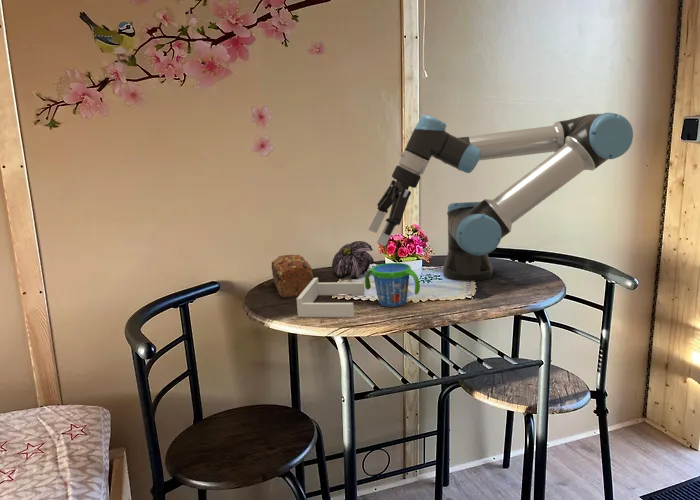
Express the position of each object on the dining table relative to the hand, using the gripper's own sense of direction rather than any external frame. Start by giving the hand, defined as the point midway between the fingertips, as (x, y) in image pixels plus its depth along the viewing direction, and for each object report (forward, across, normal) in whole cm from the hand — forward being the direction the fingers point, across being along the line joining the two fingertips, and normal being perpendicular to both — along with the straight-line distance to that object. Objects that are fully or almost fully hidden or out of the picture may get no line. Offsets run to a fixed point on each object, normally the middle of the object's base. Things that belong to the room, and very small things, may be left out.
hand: (376, 237), depth 156 cm
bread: (+27, -10, -14) cm, 32 cm away
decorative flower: (+18, -20, +4) cm, 27 cm away
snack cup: (+13, +14, +9) cm, 20 cm away
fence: (+20, +10, -5) cm, 23 cm away
